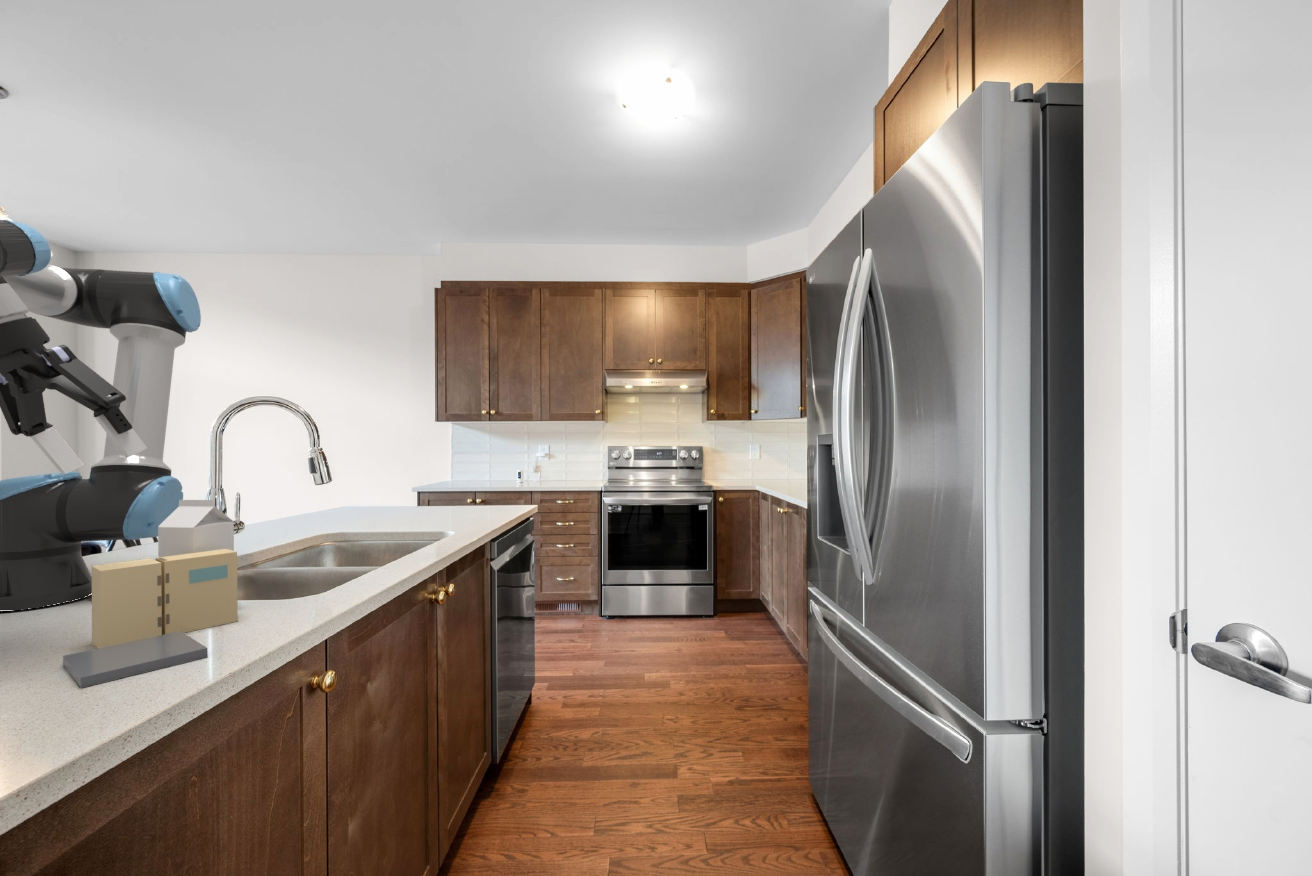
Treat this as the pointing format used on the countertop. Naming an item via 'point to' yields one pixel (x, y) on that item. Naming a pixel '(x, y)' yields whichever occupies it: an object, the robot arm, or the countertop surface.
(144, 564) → the tan rectangular block
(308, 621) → the countertop surface
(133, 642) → the plate
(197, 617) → the cardboard shipping box
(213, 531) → the milk carton
